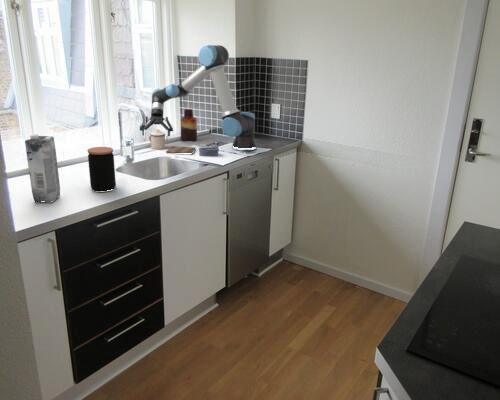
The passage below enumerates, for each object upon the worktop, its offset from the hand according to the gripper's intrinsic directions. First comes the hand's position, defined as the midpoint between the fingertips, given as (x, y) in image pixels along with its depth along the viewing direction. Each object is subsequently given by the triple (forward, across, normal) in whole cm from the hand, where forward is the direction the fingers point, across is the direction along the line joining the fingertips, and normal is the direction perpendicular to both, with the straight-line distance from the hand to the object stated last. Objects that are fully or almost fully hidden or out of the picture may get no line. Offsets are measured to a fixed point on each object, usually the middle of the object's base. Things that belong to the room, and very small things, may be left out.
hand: (155, 140), depth 267 cm
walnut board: (+8, -16, +1) cm, 18 cm away
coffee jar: (+59, +16, +51) cm, 79 cm away
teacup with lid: (+2, 0, -5) cm, 6 cm away
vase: (-14, -19, -22) cm, 32 cm away
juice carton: (+68, +36, +61) cm, 98 cm away
